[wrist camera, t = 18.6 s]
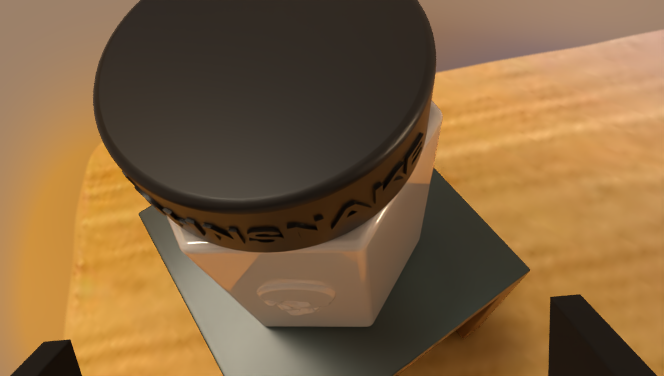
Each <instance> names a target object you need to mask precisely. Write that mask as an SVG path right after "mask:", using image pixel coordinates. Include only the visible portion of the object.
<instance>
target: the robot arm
mask: <svg viewBox="0 0 664 376" xmlns="http://www.w3.org/2000/svg"><path fill="white" fill-rule="evenodd" d="M11 376H82V374H81V371H80V368H79V365H78V362H77V359H76V356H75V353H74V349H73V346H72V343H71V340H60V341H49V342H43V343H42V344H41V345H40V346H39V347H38V348H37V349H36V350H35V351H34V352H33V353H32V355H30V357H28V358H27V359H26V360H25V361H24V362H23V364H22V365H20V366H19V368H17V370H16V371H15V372H14V373H13V374H12V375H11ZM548 376H657V375H656V374H655V373H654V372H653V371H652V370H651V369H650V368H649V367H648V366H647V365H646V364H645V363H644V361H643V360H642V359H641V358H640V357H639V356H638V355H637V354H636V353H635V352H634V351H633V350H632V349H631V348H630V347H629V346H628V345H627V343H626V342H625V341H624V340H623V339H622V338H621V337H620V336H619V335H618V334H617V333H616V332H615V331H614V330H613V329H612V328H611V327H610V326H609V324H608V323H607V322H606V321H605V320H604V319H603V318H602V317H601V316H600V315H599V314H598V313H597V312H596V311H595V310H594V309H593V308H592V306H591V305H590V304H589V303H588V302H587V301H586V300H585V299H584V298H583V297H582V296H581V295H580V294H579V295H567V296H556V297H550V333H549V371H548Z"/></svg>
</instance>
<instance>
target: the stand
mask: <svg viewBox="0 0 664 376" xmlns="http://www.w3.org/2000/svg"><path fill="white" fill-rule="evenodd" d="M139 216H140V218H141V220H142V222H143V224H144V226H145V227H146V229H147V231H148V233H149V235H150V237H151V239H152V241H153V243H154V245H155V246H156V248H157V250H158V252H159V254H160V256H161V258H162V260H163V262H164V264H165V265H166V267H167V269H168V271H169V273H170V275H171V277H172V279H173V281H174V283H175V284H176V286H177V288H178V290H179V292H180V294H181V296H182V298H183V300H184V302H185V303H186V305H187V307H188V309H189V311H190V313H191V315H192V317H193V319H194V321H195V322H196V324H197V326H198V328H199V330H200V332H201V334H202V336H203V338H204V340H205V341H206V343H207V345H208V347H209V349H210V351H211V353H212V355H213V357H214V359H215V360H216V362H217V364H218V366H219V368H220V370H221V372H222V374H223V376H397V375H398V374H400V373H401V372H402V371H404V370H405V369H406V368H408V367H409V366H410V365H411V364H413V363H414V362H415V361H417V360H418V359H419V358H421V357H422V356H423V355H424V354H426V353H427V352H428V351H430V350H431V349H432V348H434V347H435V346H436V345H437V344H439V343H440V342H441V341H443V340H444V339H445V338H447V337H448V336H449V335H450V334H452V333H453V332H454V331H457V332H458V333H459V334H460V336H461V337H462V338H463V339H464V338H466V337H467V336H468V335H470V334H471V333H472V332H473V331H475V330H476V329H477V328H479V327H480V325H481V324H482V323H483V322H484V321H485V320H486V319H487V318H488V317H489V315H490V314H491V313H492V312H493V311H494V310H495V309H496V308H497V307H498V305H499V304H500V303H501V302H502V301H503V300H504V299H505V298H506V297H507V295H508V294H509V293H510V292H511V291H512V290H513V289H514V288H515V287H516V286H517V284H518V283H519V282H520V281H521V280H522V279H523V278H524V277H525V276H526V275H527V273H528V272H529V271H530V269H529V268H528V267H527V266H526V264H525V263H524V262H523V261H522V260H521V259H520V258H519V257H518V256H517V255H516V254H515V253H514V252H513V251H512V250H511V249H510V248H509V247H508V245H507V244H506V243H505V242H504V241H503V240H502V239H501V238H500V237H499V236H498V235H497V234H496V233H495V232H494V231H493V230H492V229H491V228H490V226H489V225H488V224H487V223H486V222H485V221H484V220H483V219H482V218H481V217H480V216H479V215H478V214H477V213H476V212H475V211H474V210H473V209H472V208H471V206H470V205H469V204H468V203H467V202H466V201H465V200H464V199H463V198H462V197H461V196H460V195H459V194H458V193H457V192H456V191H455V190H454V189H453V187H452V186H451V185H450V184H449V183H448V182H447V181H446V180H445V179H444V178H443V177H442V176H441V175H440V174H439V173H438V172H437V171H436V170H435V169H434V167H433V172H432V177H431V182H430V188H429V193H428V198H427V204H426V209H425V214H424V220H423V225H422V230H421V235H420V239H419V241H418V243H417V245H416V247H415V248H414V250H413V252H412V254H411V256H410V257H409V259H408V261H407V263H406V265H405V267H404V268H403V270H402V272H401V274H400V276H399V277H398V279H397V281H396V283H395V285H394V286H393V288H392V290H391V292H390V294H389V296H388V297H387V299H386V301H385V303H384V305H383V306H382V308H381V310H380V312H379V314H378V316H377V317H376V319H375V321H374V323H373V324H372V325H371V326H368V327H310V326H263V325H262V324H261V323H260V322H259V321H258V320H257V319H255V318H254V317H253V316H252V315H251V314H250V313H249V312H248V311H247V310H246V309H245V308H243V307H242V306H241V305H240V304H239V303H238V302H237V301H236V300H235V299H234V298H233V297H231V296H230V295H229V294H228V293H227V292H226V291H225V290H224V289H223V288H222V287H221V286H219V285H218V284H217V283H216V282H215V281H214V280H213V279H212V278H211V277H210V276H208V275H207V274H206V273H205V272H204V271H203V270H202V269H201V268H200V267H199V266H197V265H196V264H195V263H194V262H193V261H192V260H191V259H190V258H189V257H188V256H187V255H185V254H184V253H183V252H182V251H181V249H180V247H179V245H178V242H177V240H176V237H175V235H174V232H173V230H172V227H171V225H170V223H169V220H168V218H167V215H166V216H164V215H163V214H161V213H160V212H159V211H158V210H156V209H155V208H154V207H153V206H152V205H151V206H150V207H148V208H146V209H145V210H143V211H141V212H140V213H139Z"/></svg>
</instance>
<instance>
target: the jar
mask: <svg viewBox="0 0 664 376" xmlns="http://www.w3.org/2000/svg"><path fill="white" fill-rule="evenodd" d="M435 72H436V49H435V43H434V37H433V32H432V29H431V26H430V23H429V21H428V18H427V16H426V14H425V12H424V10H423V8H422V7H421V5H420V4H419V2H418V0H140V1H139V2H138V3H137V4H136V5H135V6H134V7H133V8H132V9H131V10H130V11H129V12H128V14H127V15H126V16H125V17H124V18H123V20H122V21H121V22H120V24H119V25H118V26H117V28H116V29H115V31H114V32H113V34H112V36H111V37H110V39H109V41H108V43H107V45H106V47H105V49H104V51H103V53H102V56H101V58H100V61H99V64H98V68H97V72H96V76H95V83H94V91H93V93H94V94H93V106H94V114H95V120H96V124H97V128H98V130H99V133H100V136H101V138H102V141H103V143H104V145H105V147H106V148H107V150H108V152H109V153H110V155H111V157H112V158H113V159H114V161H115V162H116V163H117V165H118V166H119V167H120V168H121V169H122V170H123V171H122V172H123V173H124V175H125V176H126V178H127V179H128V180H129V181H130V182H131V183H132V184H133V185H134V186H135V189H136V190H137V191H138V192H139V193H140V194H141V195H142V196H143V197H144V198H145V199H146V200H147V201H148V202H149V203H150V204H151V205H152V206H153V207H154V208H155V209H156V210H158V211H159V212H160V213H161V214H163V215H164V216H166V215H167V218H168V220H169V223H170V225H171V227H172V230H173V232H174V235H175V237H176V240H177V242H178V245H179V247H180V249H181V251H182V252H183V253H184V254H185V255H187V256H188V257H189V258H190V259H191V260H192V261H193V262H194V263H195V264H196V265H197V266H199V267H200V268H201V269H202V270H203V271H204V272H205V273H206V274H207V275H208V276H210V277H211V278H212V279H213V280H214V281H215V282H216V283H217V284H218V285H219V286H221V287H222V288H223V289H224V290H225V291H226V292H227V293H228V294H229V295H230V296H231V297H233V298H234V299H235V300H236V301H237V302H238V303H239V304H240V305H241V306H242V307H243V308H245V309H246V310H247V311H248V312H249V313H250V314H251V315H252V316H253V317H254V318H255V319H257V320H258V321H259V322H260V323H261V324H262V325H263V326H310V327H368V326H371V325H372V324H373V323H374V321H375V319H376V317H377V316H378V314H379V312H380V310H381V308H382V306H383V305H384V303H385V301H386V299H387V297H388V296H389V294H390V292H391V290H392V288H393V286H394V285H395V283H396V281H397V279H398V277H399V276H400V274H401V272H402V270H403V268H404V267H405V265H406V263H407V261H408V259H409V257H410V256H411V254H412V252H413V250H414V248H415V247H416V245H417V243H418V241H419V239H420V235H421V230H422V225H423V220H424V214H425V209H426V204H427V198H428V193H429V188H430V182H431V177H432V172H433V166H434V161H435V156H436V150H437V145H438V140H439V135H440V129H441V124H442V119H443V116H442V112H441V110H440V109H439V108H438V107H437V106H436V105H435V103H434V102H433V101H432V93H433V86H434V79H435Z"/></svg>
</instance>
